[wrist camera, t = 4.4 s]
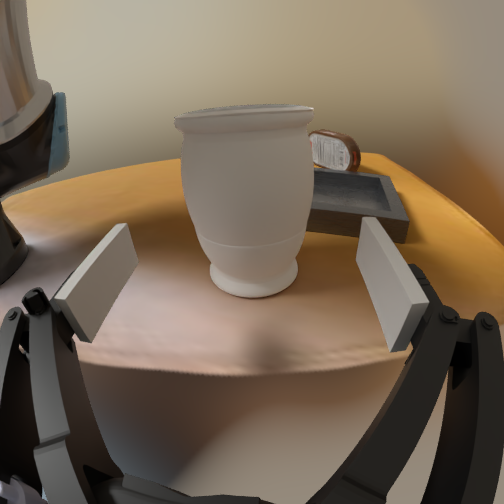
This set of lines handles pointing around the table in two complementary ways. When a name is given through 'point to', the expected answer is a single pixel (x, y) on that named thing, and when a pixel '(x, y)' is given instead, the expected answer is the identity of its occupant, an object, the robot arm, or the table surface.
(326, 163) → the tin
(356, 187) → the dark grey square tray
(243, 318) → the table surface
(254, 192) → the jar
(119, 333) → the table surface
